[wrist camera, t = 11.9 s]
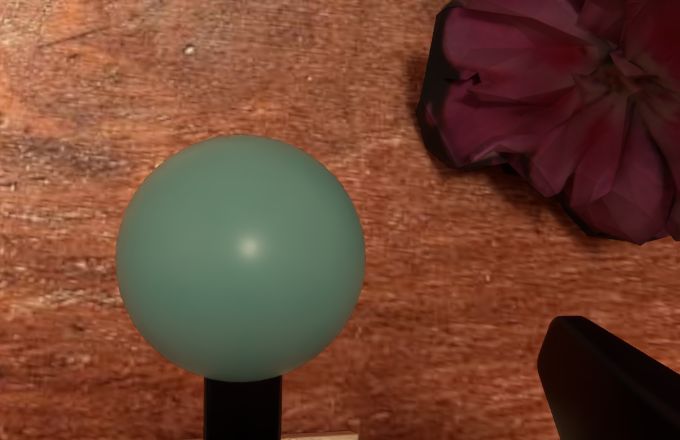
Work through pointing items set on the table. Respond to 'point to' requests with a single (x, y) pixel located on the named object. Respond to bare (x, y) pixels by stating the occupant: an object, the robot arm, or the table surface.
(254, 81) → the table surface
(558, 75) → the flower arrangement
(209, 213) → the lever
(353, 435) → the bracket
